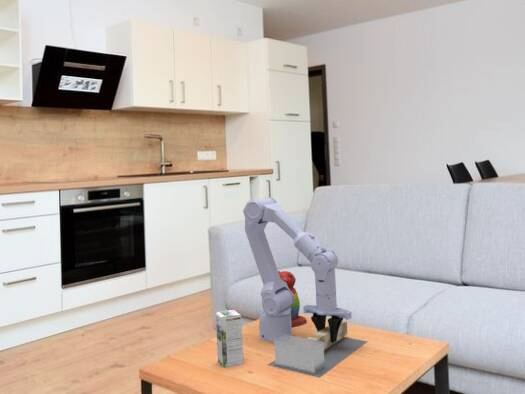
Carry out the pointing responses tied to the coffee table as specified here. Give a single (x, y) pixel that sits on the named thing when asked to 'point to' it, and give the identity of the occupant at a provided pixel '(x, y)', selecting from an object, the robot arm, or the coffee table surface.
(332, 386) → the coffee table surface
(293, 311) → the stacking bear
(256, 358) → the coffee table surface
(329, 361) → the board
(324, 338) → the slat
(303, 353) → the grey rectangular block
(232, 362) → the syrup box
